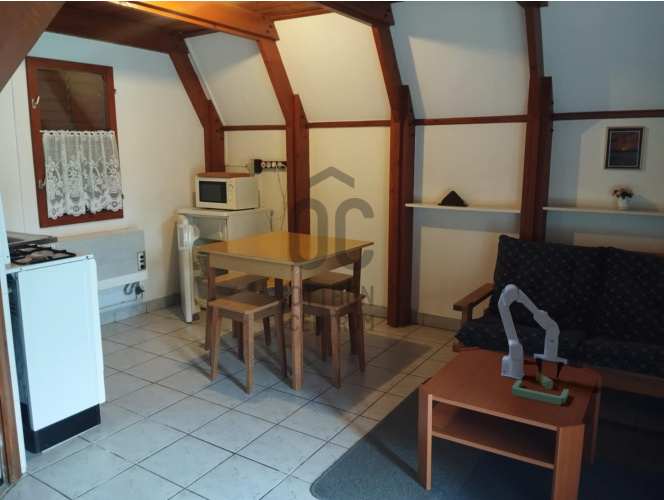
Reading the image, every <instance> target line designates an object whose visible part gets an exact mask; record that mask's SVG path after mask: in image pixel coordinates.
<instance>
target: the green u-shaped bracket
mask: <svg viewBox="0 0 664 500" xmlns="http://www.w3.org/2000/svg"><path fill="white" fill-rule="evenodd" d="M522 386H523V380H522V379H517V380H515V382H514V384H513V385H512V386H511V393H512V396H515V397H519V398H520V397H521V398H525V399H529V400H533V401H538V402H542V403H548V404H552V405H553V404H554V405H557V406H562V405H565V403H566V401H567V400H568V397H569V395H570V394H569V393H570V392H569V391H570V389H565V388H564V389H563V390H562V391H561V394H560V395H555V394H551V393H546V392H542V391H537V390H532V389H527V388H524V387H522Z"/></svg>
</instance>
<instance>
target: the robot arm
mask: <svg viewBox="0 0 664 500" xmlns="http://www.w3.org/2000/svg"><path fill="white" fill-rule="evenodd" d="M514 301H516V302H517V303H521V304H522V305H523V306H524V307H525V308H526V309H528V311H530V313H532V315H533V319H534V321H536V323H538V325H539V326H540V327H542V329H543V330H545V337H544V338H545V339H544V350H543V354H541V353H534V354H533V359H534V360H535V363H536V366H537V367H538V368H537V369H538V372H541V373H543V362H544V361H547V362H554V363H557V364H556V365H557V366H556V367H557V368H556V369H557V370H556V376H555V377H556V379H558V378H559V376H560V373H561V370H562V369H563V367H564V365H567V364H568V359H567V358H563V357H560V356H558V350H559V349H558V348H559V347H558V346H559V335H560V333H561V332H560V328H559V325H558V322H556V321H555V320H554V319H552V318H551V317H550V316H549V313H548V312H547V311H544V310H543V309H542V310H541V309H539V308H538V307H537V306H536V305H535V304H534V303H533V301H532V300H531V299H530V297H528V296H527V295H526V294H525V293H524V292H523V291H522V290H521V289H520V288H518V287H517V286H516V284H512V283H510V284H507V285H505V287H504V288H503V289H502V291H501V295H500V297H499V299H498V303H497V308H498V311H499V314H500V317H501V322H502V324H503V328H504V332H505V335H506V337H507V342H508V346H509V347H508V348H509V350H510V351H509V350H508V355H504V356H503V358H502V361H501V374H500V375H501V376H502V377H507V378H512V379H517V380H522V379H523V377H524V376H525V375H526V374H525V373H523V372H524V359H525V358H524V350H523V349H524V348H523V344H522V345H521V343H520V342H519V340H518V338H519V337H518V335H517V332H516V328H515V325H514V321H513V318H512V314H511V311H510V305H511V304H512V303H513V302H514Z"/></svg>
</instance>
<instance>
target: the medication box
mask: <svg viewBox="0 0 664 500" xmlns="http://www.w3.org/2000/svg"><path fill="white" fill-rule="evenodd" d="M535 382H537V383H539V384H540V385H541V386H543V387H544V388H545V389H546V390H554V389H553V387H554V380H552V378H550V377H548V376H547V375H545V373H543V372H542V373H541V372H539V371H538V372H537V371H536V374H535Z"/></svg>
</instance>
